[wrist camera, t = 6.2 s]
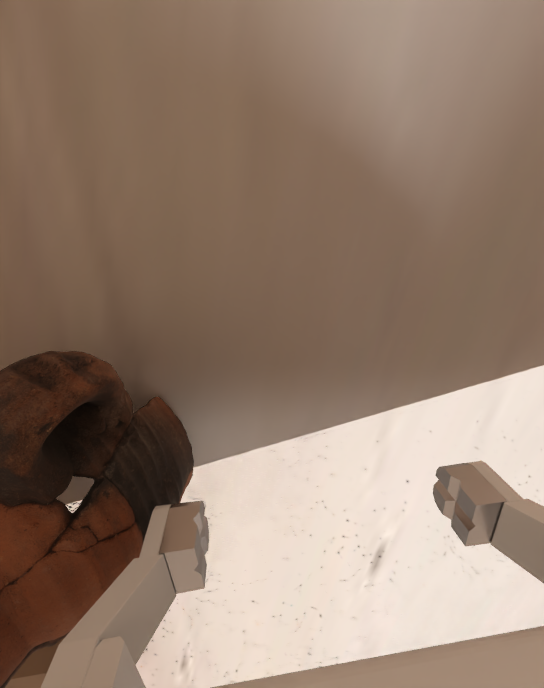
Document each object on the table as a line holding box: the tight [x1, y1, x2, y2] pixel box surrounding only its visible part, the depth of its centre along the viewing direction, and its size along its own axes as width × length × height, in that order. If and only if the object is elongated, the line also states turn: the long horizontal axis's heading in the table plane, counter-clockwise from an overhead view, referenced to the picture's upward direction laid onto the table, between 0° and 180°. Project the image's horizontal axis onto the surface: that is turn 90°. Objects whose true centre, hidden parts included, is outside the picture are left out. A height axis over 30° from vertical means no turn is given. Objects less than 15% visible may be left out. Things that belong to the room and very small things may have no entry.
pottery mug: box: [0, 351, 194, 688], centre depth 11 cm, size 12×9×8 cm
